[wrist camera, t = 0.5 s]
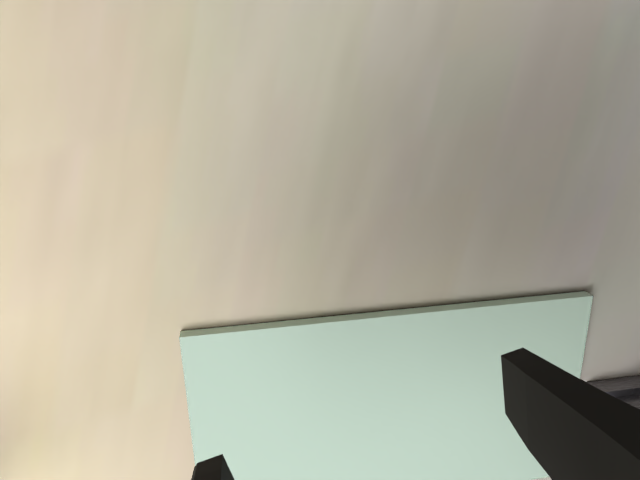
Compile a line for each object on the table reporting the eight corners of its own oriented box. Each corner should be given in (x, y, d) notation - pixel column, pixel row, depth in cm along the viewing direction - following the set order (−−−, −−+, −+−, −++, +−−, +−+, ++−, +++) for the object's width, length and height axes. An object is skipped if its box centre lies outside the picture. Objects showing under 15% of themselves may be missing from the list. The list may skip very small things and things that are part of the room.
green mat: (558, 466, 28) (564, 474, 27) (204, 522, 25) (203, 532, 24) (584, 291, 25) (593, 295, 24) (180, 331, 22) (179, 337, 21)
